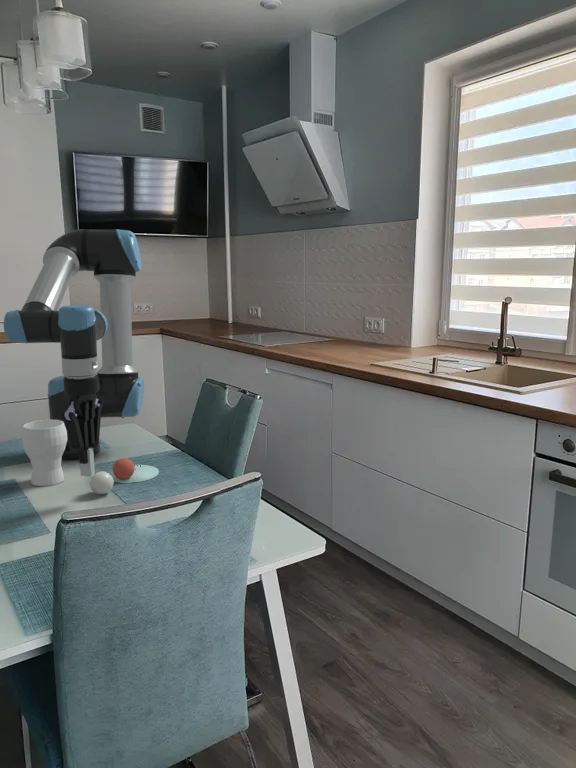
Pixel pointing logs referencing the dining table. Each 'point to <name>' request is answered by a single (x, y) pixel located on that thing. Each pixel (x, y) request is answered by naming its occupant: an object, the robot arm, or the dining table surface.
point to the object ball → (123, 468)
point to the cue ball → (101, 482)
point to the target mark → (139, 474)
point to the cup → (45, 450)
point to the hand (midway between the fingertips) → (87, 474)
